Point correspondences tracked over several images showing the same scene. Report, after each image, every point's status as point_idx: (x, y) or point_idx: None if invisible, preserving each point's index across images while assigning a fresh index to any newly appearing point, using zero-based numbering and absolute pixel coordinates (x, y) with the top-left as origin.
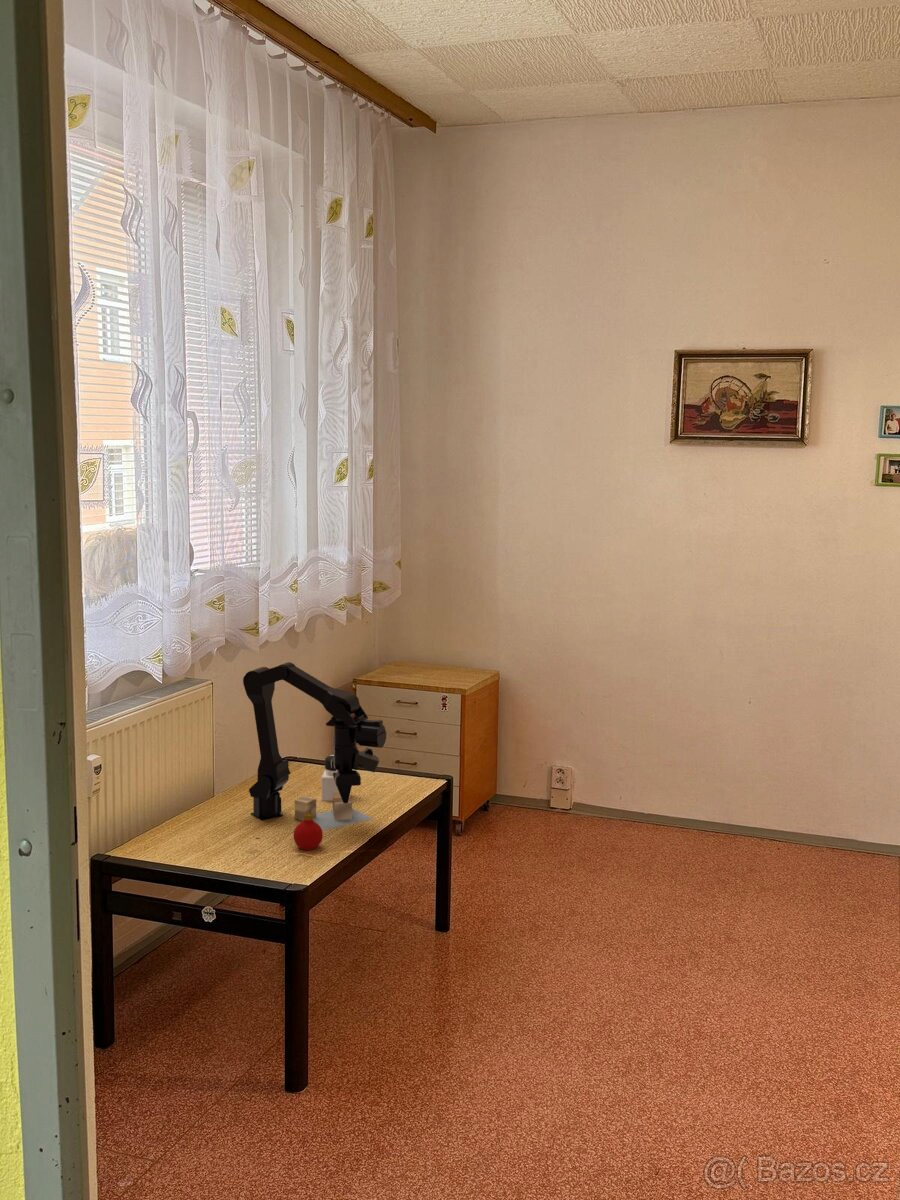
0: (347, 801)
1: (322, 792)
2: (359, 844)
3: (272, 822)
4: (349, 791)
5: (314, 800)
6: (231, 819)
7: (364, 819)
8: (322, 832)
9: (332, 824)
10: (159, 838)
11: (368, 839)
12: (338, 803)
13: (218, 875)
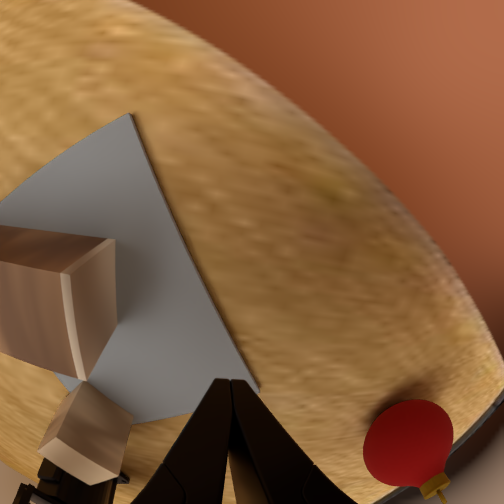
0: (251, 391)
1: None
2: (436, 263)
3: (132, 467)
4: (318, 474)
5: (70, 442)
6: (117, 499)
7: (130, 167)
8: (439, 417)
9: (182, 346)
10: None
11: (408, 213)
12: (82, 361)
13: (403, 487)
